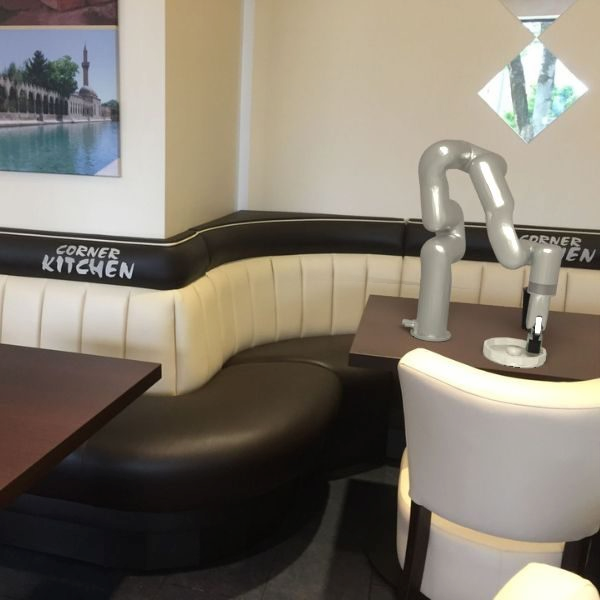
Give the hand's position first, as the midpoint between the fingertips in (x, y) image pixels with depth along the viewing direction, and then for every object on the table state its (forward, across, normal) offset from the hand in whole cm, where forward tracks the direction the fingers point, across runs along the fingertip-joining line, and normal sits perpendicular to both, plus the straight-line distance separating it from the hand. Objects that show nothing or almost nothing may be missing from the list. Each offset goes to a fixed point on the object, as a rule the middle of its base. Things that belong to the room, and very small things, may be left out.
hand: (533, 349), depth 172 cm
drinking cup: (+3, -31, 0) cm, 31 cm away
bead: (0, 0, 0) cm, 0 cm away
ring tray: (+3, 0, -5) cm, 6 cm away
